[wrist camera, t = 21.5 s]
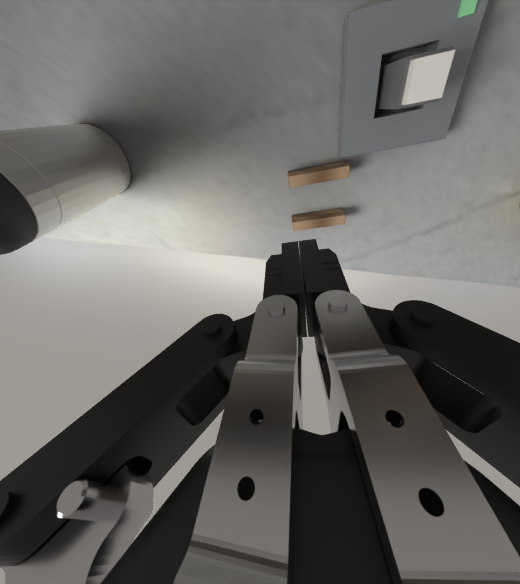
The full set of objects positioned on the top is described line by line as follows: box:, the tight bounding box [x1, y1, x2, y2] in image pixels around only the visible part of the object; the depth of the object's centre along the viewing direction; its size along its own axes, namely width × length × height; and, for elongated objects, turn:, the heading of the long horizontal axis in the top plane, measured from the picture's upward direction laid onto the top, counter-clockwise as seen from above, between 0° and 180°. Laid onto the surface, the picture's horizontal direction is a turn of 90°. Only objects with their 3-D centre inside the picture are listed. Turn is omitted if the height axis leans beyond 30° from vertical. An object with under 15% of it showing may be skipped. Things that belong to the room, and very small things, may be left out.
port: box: [338, 0, 489, 158], centre depth 24 cm, size 12×12×3 cm
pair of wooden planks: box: [288, 161, 350, 231], centre depth 32 cm, size 8×8×3 cm
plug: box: [375, 46, 455, 110], centre depth 22 cm, size 4×4×8 cm
